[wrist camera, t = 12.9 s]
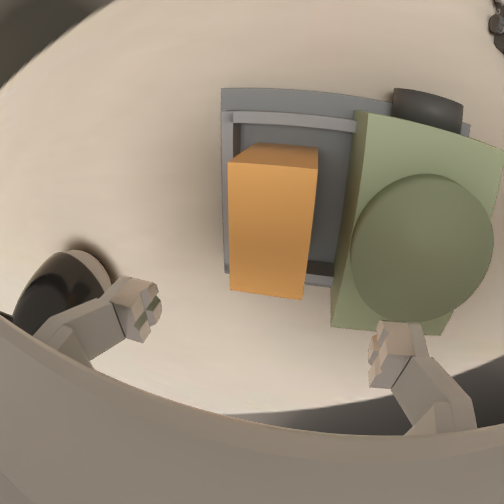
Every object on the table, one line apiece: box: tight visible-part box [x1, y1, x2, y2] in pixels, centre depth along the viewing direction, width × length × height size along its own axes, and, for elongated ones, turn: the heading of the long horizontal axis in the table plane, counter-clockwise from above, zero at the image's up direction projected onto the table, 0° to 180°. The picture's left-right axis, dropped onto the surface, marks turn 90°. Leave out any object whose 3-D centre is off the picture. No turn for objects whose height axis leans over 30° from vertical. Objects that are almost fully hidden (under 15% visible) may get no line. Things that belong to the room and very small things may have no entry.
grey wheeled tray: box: [221, 88, 504, 336], centre depth 18 cm, size 19×18×9 cm
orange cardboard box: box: [228, 142, 318, 300], centre depth 19 cm, size 4×8×7 cm, turn 179°
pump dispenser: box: [0, 250, 112, 336], centre depth 26 cm, size 10×10×15 cm
